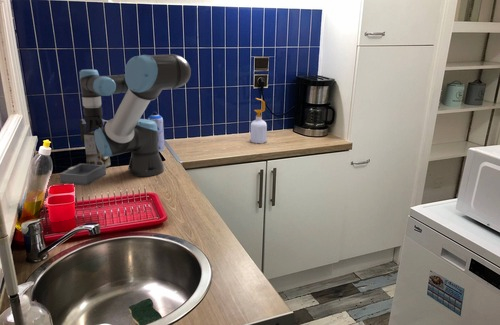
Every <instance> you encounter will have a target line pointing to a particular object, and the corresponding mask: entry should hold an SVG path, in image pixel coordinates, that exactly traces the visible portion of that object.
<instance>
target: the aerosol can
mask: <svg viewBox="0 0 500 325" xmlns="http://www.w3.org/2000/svg"><path fill="white" fill-rule="evenodd" d="M147 119H148V120H152V121H155V122H156V124H157V129H158V148H159V153H160V151H161V152H164V151H166V148H165V134H164V133H165V132H164V119H163V117H162V116H161V115H160V114H158V112H157V111H152V114H151V115H149V116H148V118H147ZM163 150H164V151H163Z"/></svg>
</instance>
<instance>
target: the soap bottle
mask: <svg viewBox="0 0 500 325" xmlns="http://www.w3.org/2000/svg"><path fill="white" fill-rule="evenodd" d="M255 100H258V101H261V109H254V112H256V115H255V119H254V120H252V121H251V123H250V142H251V143H253V144H265V143H266V142H267V141H268V140H267V136H268V134H267V133H268V132H267V130H268V129H267V128H268V124H267V122H266V121H265V120H264V119H262V118H263V116H262V115H261V113H263V112H265V111H266V101H265V100H263V99H262V98H257V97H255Z"/></svg>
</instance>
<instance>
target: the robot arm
mask: <svg viewBox="0 0 500 325" xmlns="http://www.w3.org/2000/svg"><path fill="white" fill-rule="evenodd" d="M124 72H125V73H124V74H115V75H114V74H113V75H100V74H99V71H98V70H97V69H93V68H92V69H89V68H88V69H81V70H79V72H78V74H79V84H80V91H81V92H80V93H81V99H82V100H81V101H82V106H83V115H84V118H82V119H79V120H78V123H79V127H80V128H79V129H80V130H79V131H80V142H81V143H83V144H85V141H84V134H87V133H91V132H92V131H95V133H94V138H95V143H96V146H97V149H98V151H99V152H100V154H101V155H103V159H107V158H108V156H110V157H113V156H118V155H122V154H123V155H124V154H126V153H127V154H128V153H131V156H130V160H129V164H128V173H129V175H131V176H134V177H151V176H156V175H161V174H162V173H163V172H164V170H165V167H164V163H163V161H162V158H161V156H160V152H159V148H158V129H157V124H156V122H155V121H152V120H148V118H142V116H143V114H144V112H145V111H146V109H147V108H148V105H149V104H150V103H151V101H154V100H156V99H157V98H158V97H159V95H160V94H161V92H162V91H163V90H171V89H178V88H180V87H183V86H185V85H186V84H187V83H188V82H189V81H190V78H191V75H192V74H191V73H192V68H191V66H190V64H189V62H188V61H187V60H186V59H185V58H184V57H183V56H181V55H178V54H173V53H171V54H152V55H150V54H141V55H136V56H135V55H134V56H133V57H131V58H130V59H129V60H128V61H127V63H126V65H125V68H124ZM121 93H122V94H124V96H123V99H122V100H121V103H120V104H119V106H118V108H117V110H116V113H115V114H114V115H113V118H111V119H109V120H105V119H104V117H103V114H104V113H103V112H104V111H103V107H102V97H105V96H107V97H109V96H112V95H115V94H121ZM94 129H95V130H94Z"/></svg>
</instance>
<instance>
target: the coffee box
mask: <svg viewBox="0 0 500 325" xmlns="http://www.w3.org/2000/svg"><path fill="white" fill-rule="evenodd" d="M86 133H87V132H86ZM94 133H95V130H93V131H92V132H91V133H87V134H84V141H85V143H84V148H85V157H86V164H94V165H105V168H108V167H110V166H111V158H110V157H111V156H108V158H107V159H103V155H101V154H100V152H99V151H98V149H97V146H96V143H95V138H94Z"/></svg>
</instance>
